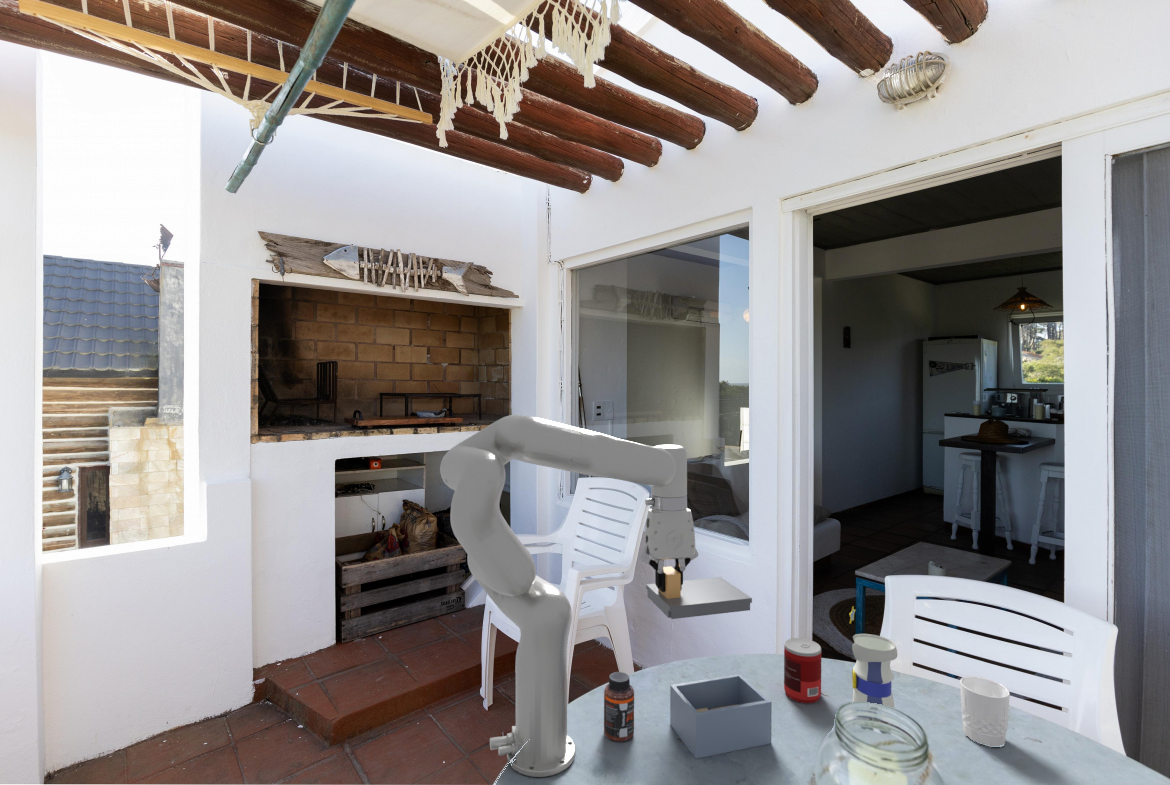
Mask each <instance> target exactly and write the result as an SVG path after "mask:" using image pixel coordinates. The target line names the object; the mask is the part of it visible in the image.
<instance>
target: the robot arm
mask: <svg viewBox="0 0 1170 785" xmlns="http://www.w3.org/2000/svg"><path fill="white" fill-rule="evenodd" d="M512 460H516V461H519V462H523V463H527V464H531V465H537V466H541V467H547V468H551V469H558V470H563V471H565V472H571V473H576V474H581V475H585V476H590V477H600V478H606V479H607V478H608V479H615V480H620V481H625V482H630V483H634V484H640V485H645V486H649V487H650V488H651V490H650V492H651V493H650V494H649V495H650V497H649V498H646V499H645V500H644V503H645V506H650V507H651V508H649V509H648V510H647V511H648V512H647V514H646V515H647V516H646V520H645V521H646V522H645V531H644V547H643V548H642V551H641V553H640V556H639V560H640V561H641V562H642V563H645V564H647V565H648V566H650V567H651V568H653V569H654V570H655V572H654V573H655V574H654V575H655V579H654V582H655V583H654V584H656V586H657V588H658V589H659V590H660V591H661V592H665V573H664V570H663V567H665V566H664V564H665V561H667V560H674V567H673V566H672V567H673V568H674V569H675V570H677V571H678V572H679V573H680V574H681V590H682V585H683V581H684V572H685V571H686V567H688V565H689V564H690V563H691V561H693V560H695V559H696V558H697V557H699V553H698V551H697V549H696V536H695V525H694V519H693V514H692V511H691V509H690V508H688V454H687V449H686V448H685V447H684V446H683V445H679V444H657V445H655V446H652V445H648V444H647V445H646V444H643V443H638V442H634V441H630V440H626V439H621V438H617V437H614V436H611V435H608V434H605V433H601V432H597V431H593V430H590V429H586V428H580V427H577V426H573V425H570V424H565V423H561V422H557V421H554V420H549V419H547V418H546V419H545V418H541V417H538V416H537V417H536V416H531V415H522V414H520V415H518V414H510V415H507V416H503V417H502V418H499V419H497V420H495V421H494V422H493V423H491V424H489V425H488V426H487V425H486V426H485V427H484V428H482V429H481V430H479V431H478V432H476V433H474V434H472V435H471V436H469V437H468V438H465V439H464V440H463V441H460V442H459V443H458V444H456V445H454V446H453V447H452V448H450V449H449V450H448V451H447V452H446V453H445V455H444V456H443V457H442V460H441V461H440V466H439V473H440V477H441V479H442V481H443V483H444V484H445V486H446V487H448V488H449V489H451V490H453V491H454V492H453V495H452V498H451V505H450V514H449V516H450V526H451V529H452V532H453V535H454V537H455V538H456V539H457V541H458V543H459V544H460V546H461V547H462V548H463V550H464V551H465V552H466V554H467V556H466V557H467V559H466V561H467V566H468V569H469V572H470V573H471V575H472V577H473V578H474V579H475V580H476V582H477V583H478V584H479V585H480V587H481V588H482V589H483V591H484V592H485V593H486V594H487V596H488V597H489V599H491V601H492V602H493V604H494V605H496V607H497V608H498V609H499V610H500V611H501V613H502V614H503V615H505V616H506V618H508V619H509V620H510V621H511V622H512V623H513V624H515V626H516V627H518V628H519V632H520V636H519V641H518V645H517V648H516V652H515V653H516V654H515V669H514V670H515V725H512V726H511V732H508V733H506V735H503V736H494V737H490V738H489V748H490V750H491V751H493V750H497V752H498V756H499V757H501V756H505V755H506V758H507V763H508V764H509V762H510V760H511V759H512V758H513V757H514V756H515V754H516V753H517V752H518V751H519V750H520V749H521V748H522V746H523V745H524V744H525V743H526V742H527V741H528V742H527V743H526V744H525V745H524V746H523V748H522V749H521V750H520V752H519V753H518V754H517V755H516V757H515V758H514V759H516V760H515V761H514V759H513V761H514V762H513V763H512V762H511V763H510V764H512V766H510V767H511V768H512V769H513V770H515V771H516V772H517V771H518V772H517V773H519V774H521V775H525V776H528V777H532V778H543V777H545V778H546V777H550V776H554V775H557V774H559V773H561V772H563V771H564V770H566V769H567V768H569V767H570V766H571V764H572V763H573V761H574V760H575V757H576V745H575V742H574V741H573V739H572V738H571V737H570V736H569V735H568V647H569V646H568V645H569V636H570V630H571V626H572V619H573V611H572V606H571V603H570V601H569V599H568V597H567V596H566V595H565V594H564V593H563V591H561V590H560V588H558V587H557V586H556V585H553V584H552V583H551V582H549V581H547V580H545V579H543V578H542V577H540V576H538V575H537V567H536V562H535V560H534V558H533V556H532V554H531V552H530V550H528V549H527V547H526V546H525V545H524V544H523V543H522V541H521V540H520V539H519V537H518V535H516V533H515V532H514V531H513V530H512V529H513V528H511V527H510V525H509V524H508V523H507V522H508V521H506V519H505V518H504V516H503V514H502V511H501V509H500V501H501V496H502V493H503V491H504V490H503V489H504V486H505V484H506V476H507V475H506V467H505V465H506V464H508V463H509V462H510V461H512ZM529 739H530V740H529ZM510 764H509V765H510Z"/></svg>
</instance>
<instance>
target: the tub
mask: <svg viewBox="0 0 1170 785" xmlns="http://www.w3.org/2000/svg"><path fill="white" fill-rule="evenodd" d="M669 691H670V694H669V695H670V700H669V701H670V705H669V706H670V707H669V711H670V713H669V715H670V716H669V717H670V718H669V721H670V722H669V723H670V724H669V725H670V726H671V727H672V729H673V730H674V731H675V732H676V734H677V735H678V737H679V739H681V741H682V742H683V743H684V745H685V746H686V748H687V750H689V752H690V753H691V754H692V756H693V757H694V758H695V760H696V759H697V760H698V759H702V758H706V757H711V756H717V755H721V754H726V753H730V752H737V751H741V750H745V749H747V750H748V749H750V748H756V747H760V746H765V745H771V744H772V709H773V708H772V705H773V704H772V701H771V700H770V699H769V698H768V697H767V696H765V695H764V693H763V692H761V691H760V690H759V689H758V688H757V687H755V685H753V684H752V682H750V681H749V680H748V679H747V678H746V677H744V675H742V674H741V673H735V674H730V675H723V676H719V677H713V678H706V679H700V680H695V681H694V680H693V681H687V682H681V683H680V682H679V683H675V684H674V683H673V684H670V690H669Z"/></svg>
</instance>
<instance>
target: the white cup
mask: <svg viewBox="0 0 1170 785" xmlns="http://www.w3.org/2000/svg"><path fill="white" fill-rule="evenodd" d="M959 682H960V683H959V686H960V688H959V690H960V707H961V718H962V732H963V733H964V735H966V736H968V737H969V738H970V739H972V740H974V741H977V742H979V743H982V744H986V745H990V746H1000V745H1003V744H1005V745H1006V743H1005V742H1007V731H1008V722H1009V711H1010V695H1011V694H1010V690H1009V689H1008V688H1007V687H1005V686H1004V685H1002V684H1000V683H999V682H997V681H994V680H991V679H988V678H985V677H980V676H971V675H970V676H963V677H961V678H960V679H959ZM966 736H965V737H966ZM968 737H967V738H968ZM969 738H968V739H969ZM970 739H969V740H970ZM972 740H971V741H972ZM974 741H973V742H974Z"/></svg>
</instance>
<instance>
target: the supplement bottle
mask: <svg viewBox="0 0 1170 785" xmlns="http://www.w3.org/2000/svg"><path fill="white" fill-rule="evenodd" d="M603 731H604V735H605V737H606V738H607V739H610V740H611V741H614V742H626V741H628V740H630V739H632V738H633V736H634V733H635V689H634V687H633V686H632V685H631V684H630V675H629V674H627V673H626V672H623V671H615V672H612V673H611V674H609V678H608V684H606V685H605V687H604V692H603Z"/></svg>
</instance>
